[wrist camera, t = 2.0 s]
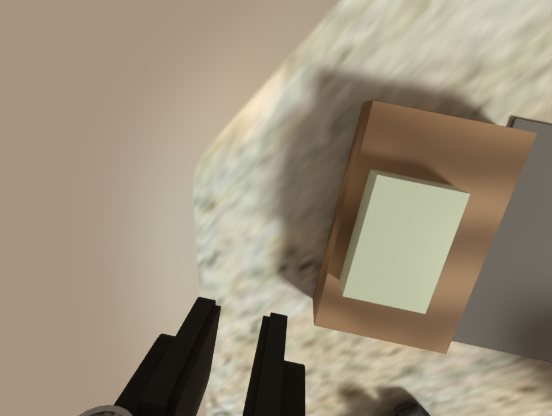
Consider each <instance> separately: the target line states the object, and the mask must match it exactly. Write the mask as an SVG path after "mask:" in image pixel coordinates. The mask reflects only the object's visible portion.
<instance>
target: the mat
mask: <svg viewBox="0 0 552 416" xmlns="http://www.w3.org/2000/svg"><path fill="white" fill-rule="evenodd" d="M510 128H514V129H519V130H524V131H529V132H534V133H537V135H536V137H535V140H534V142H533V144H532V147H531V149H530V152H529V154H528V156H527V159H526V161H525V164H524V166H523V169H522V171H521V173H520V176H519V178H518V181H517V183H516V186H515V188H514V190H513V193H512V195H511V198H510V200H509V203H508V205H507V207H506V210H505V212H504V215H503V217H502V220H501V222H500V224H499V227H498V229H497V232H496V234H495V236H494V239H493V241H492V244H491V246H490V249H489V251H488V253H487V256H486V258H485V261H484V263H483V266H482V268H481V270H480V273H479V275H478V278H477V280H476V283H475V285H474V287H473V290H472V292H471V295H470V297H469V300H468V302H467V304H466V307H465V309H464V312H463V314H462V317H461V319H460V321H459V324H458V326H457V329H456V331H455V333H454V336H453V338H452V341H456V342H461V343H465V344H470V345H474V346H479V347H484V348H488V349H493V350H498V351H502V352H507V353H512V354H516V355H521V356H525V357H530V358H535V359H539V360H544V361H549V362H552V125H547V124H542V123H537V122H532V121H527V120H522V119H517V118H514V120H513V122H512V125H511V127H510Z"/></svg>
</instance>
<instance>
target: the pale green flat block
mask: <svg viewBox="0 0 552 416" xmlns="http://www.w3.org/2000/svg"><path fill="white" fill-rule="evenodd" d="M469 196H470V193H468V192H466V191H463V190H461V189H459V188H457V187H455V186H452V185H447V184H442V183H437V182H432V181H428V180H423V179H418V178H413V177H408V176H403V175H398V174H393V173H388V172H384V171H379V170H374V169H370V171H369V175H368V178H367V182H366V186H365V189H364V193H363V196H362V200H361V204H360V207H359V211H358V214H357V218H356V222H355V225H354V229H353V232H352V236H351V240H350V243H349V247H348V250H347V254H346V258H345V261H344V265H343V268H342V272H341V276H340V279H339V281H340V286H341V291H342V296H344V297H348V298H353V299H358V300H362V301H367V302H372V303H376V304H381V305H386V306H390V307H395V308H400V309H404V310H409V311H414V312H418V313H423V314H426V311H427V308H428V306H429V303H430V300H431V298H432V295H433V292H434V290H435V287H436V284H437V282H438V279H439V276H440V274H441V271H442V268H443V266H444V263H445V260H446V258H447V255H448V252H449V250H450V247H451V244H452V242H453V239H454V236H455V234H456V231H457V228H458V226H459V223H460V220H461V218H462V215H463V212H464V210H465V207H466V204H467V202H468V199H469Z"/></svg>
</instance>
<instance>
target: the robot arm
mask: <svg viewBox="0 0 552 416" xmlns="http://www.w3.org/2000/svg"><path fill="white" fill-rule="evenodd" d="M220 311H221V306H217V305H216V301H215V300H212V299H207V298H202V297H198V298H197V300H196V302H195V303H194V305H193V307H192V309H191V310H190V312H189V314H188V315H187V317H186V319H185V321H184V322H183V324H182V326H181V328H180V330H179V331H178V333H177V335H176V336H171V335H166V334H161V335H160V336H159V337H158V338H157V340H156V341H155V343H154V344H153V346H152V347H151V349H150V350H149V352H148V354H147V355H146V356H145V358H144V360H143V361H142V363H141V364H140V366H139V367H138V369H137V370H136V372H135V373H134V375H133V377H132V378H131V380H130V381H129V383H128V384H127V386H126V387H125V389H124V390H123V392H122V393H121V395H120V397H119V398H118V399H117V401H116V402H115V404H114V406H113V405H106V406H98V407H95V408H93V409H90V410H87V411H85V412H84V413H82V414H81V415H79V416H196V415H197V412H198V409H199V406H200V404H201V401H202V398H203V395H204V392H205V390H206V387H207V384H208V380H209V376H210V371H211V365H212V359H213V353H214V347H215V341H216V335H217V329H218V323H219V317H220ZM286 329H287V316H285V315H281V314H276V313H272V312H271V314H270V317H268V316H263V320H262V325H261V330H260V334H259V339H258V344H257V349H256V353H255V358H254V363H253V368H252V372H251V377H250V382H249V387H248V392H247V396H246V401H245V406H244V411H243V416H305V366H304V365H303V364H298V363H294V362H289V361H285V360H284V354H285V341H286Z"/></svg>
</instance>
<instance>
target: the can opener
mask: <svg viewBox="0 0 552 416" xmlns="http://www.w3.org/2000/svg"><path fill="white" fill-rule="evenodd" d="M395 412H396V414H397V416H430V415H429V413H428V412H427V411H426V410H425V409H424V408H423V407H422V406H421V405H420V404H418V403H417V402H411V403H408V404H405V405H403V406H400V407H397V408H395Z"/></svg>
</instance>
